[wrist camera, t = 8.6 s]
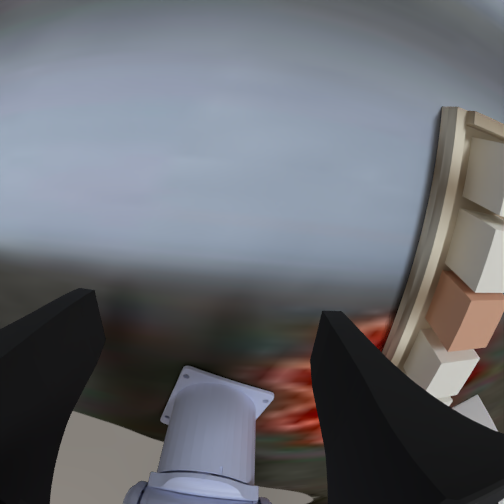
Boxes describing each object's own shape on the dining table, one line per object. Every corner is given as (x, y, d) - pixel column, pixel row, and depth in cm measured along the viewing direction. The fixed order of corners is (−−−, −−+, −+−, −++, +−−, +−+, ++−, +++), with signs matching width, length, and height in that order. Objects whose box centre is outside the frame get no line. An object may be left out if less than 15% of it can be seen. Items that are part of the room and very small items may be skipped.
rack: (427, 398, 25) (435, 416, 23) (356, 406, 25) (362, 427, 23) (520, 140, 15) (543, 145, 12) (442, 106, 15) (465, 107, 12)
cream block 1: (439, 363, 22) (457, 394, 18) (403, 366, 22) (419, 401, 18) (457, 327, 20) (479, 358, 17) (420, 329, 20) (441, 363, 17)
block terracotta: (462, 316, 20) (485, 347, 16) (424, 317, 20) (447, 351, 16) (479, 272, 18) (508, 299, 15) (442, 270, 18) (471, 300, 15)
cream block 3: (481, 266, 18) (511, 292, 14) (444, 263, 18) (474, 292, 14) (496, 215, 16) (531, 236, 13) (459, 207, 16) (495, 229, 13)
